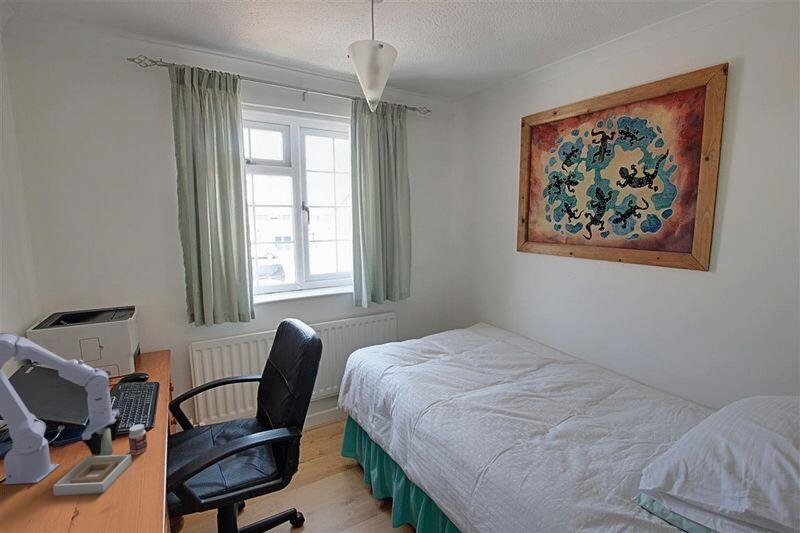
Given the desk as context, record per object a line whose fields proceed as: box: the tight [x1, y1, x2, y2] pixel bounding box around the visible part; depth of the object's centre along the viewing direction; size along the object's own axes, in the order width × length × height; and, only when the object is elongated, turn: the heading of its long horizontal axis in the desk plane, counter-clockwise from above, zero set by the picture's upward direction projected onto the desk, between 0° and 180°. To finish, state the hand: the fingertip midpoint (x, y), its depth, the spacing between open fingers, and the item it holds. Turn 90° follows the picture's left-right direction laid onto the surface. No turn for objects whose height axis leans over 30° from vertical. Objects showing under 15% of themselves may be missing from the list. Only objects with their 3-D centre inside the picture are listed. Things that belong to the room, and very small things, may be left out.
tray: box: [52, 453, 133, 497], centre depth 113 cm, size 13×13×3 cm
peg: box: [96, 427, 114, 456], centre depth 124 cm, size 4×4×8 cm
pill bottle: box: [128, 423, 148, 456], centre depth 125 cm, size 5×5×8 cm
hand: (104, 447), depth 124 cm, fingers open, 7 cm apart
